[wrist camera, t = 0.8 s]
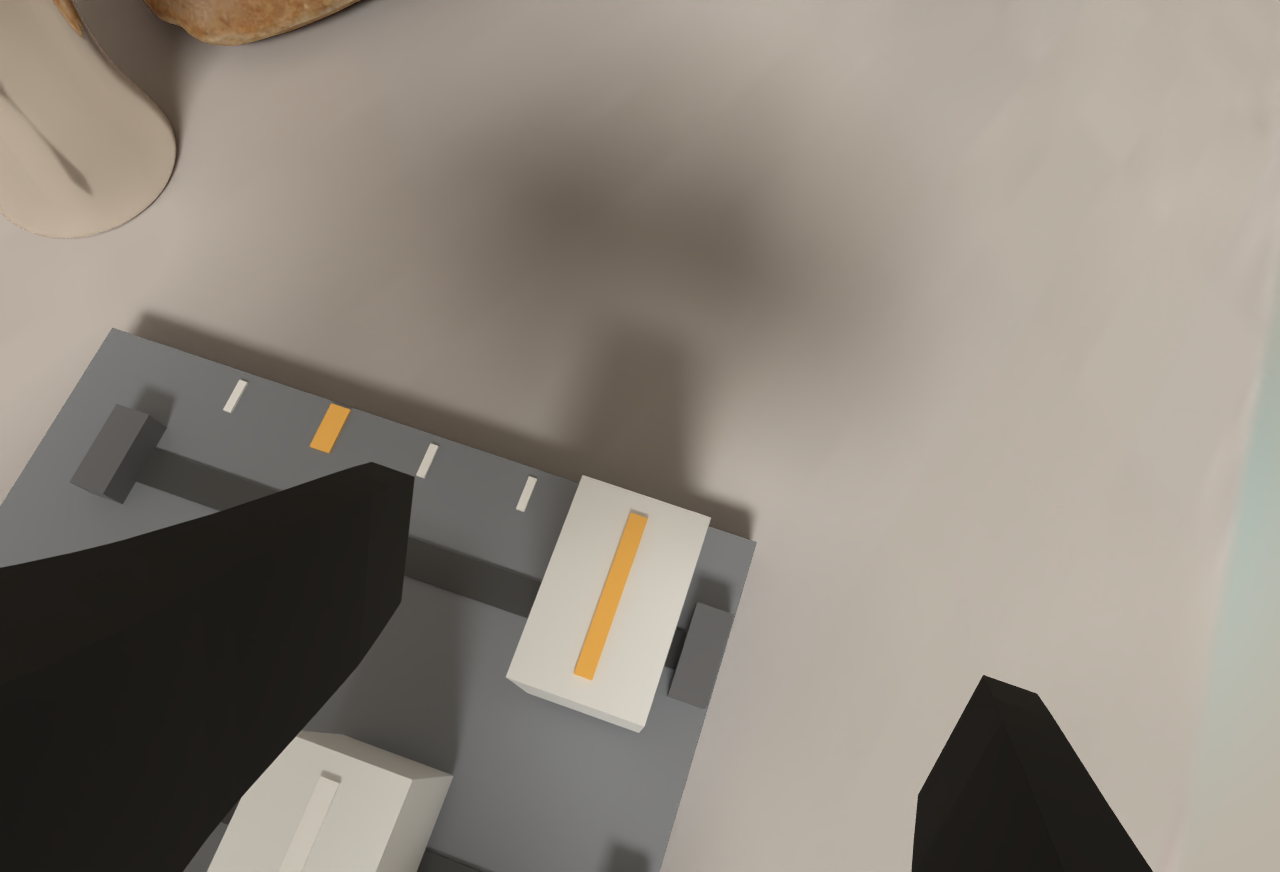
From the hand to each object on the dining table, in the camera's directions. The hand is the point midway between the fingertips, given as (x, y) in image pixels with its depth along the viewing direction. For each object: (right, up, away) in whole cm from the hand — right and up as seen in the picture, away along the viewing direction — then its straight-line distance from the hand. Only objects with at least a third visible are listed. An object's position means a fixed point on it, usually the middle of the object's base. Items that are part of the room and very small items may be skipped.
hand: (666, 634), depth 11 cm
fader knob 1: (-7, -7, +10) cm, 14 cm away
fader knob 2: (-1, -2, +12) cm, 12 cm away
